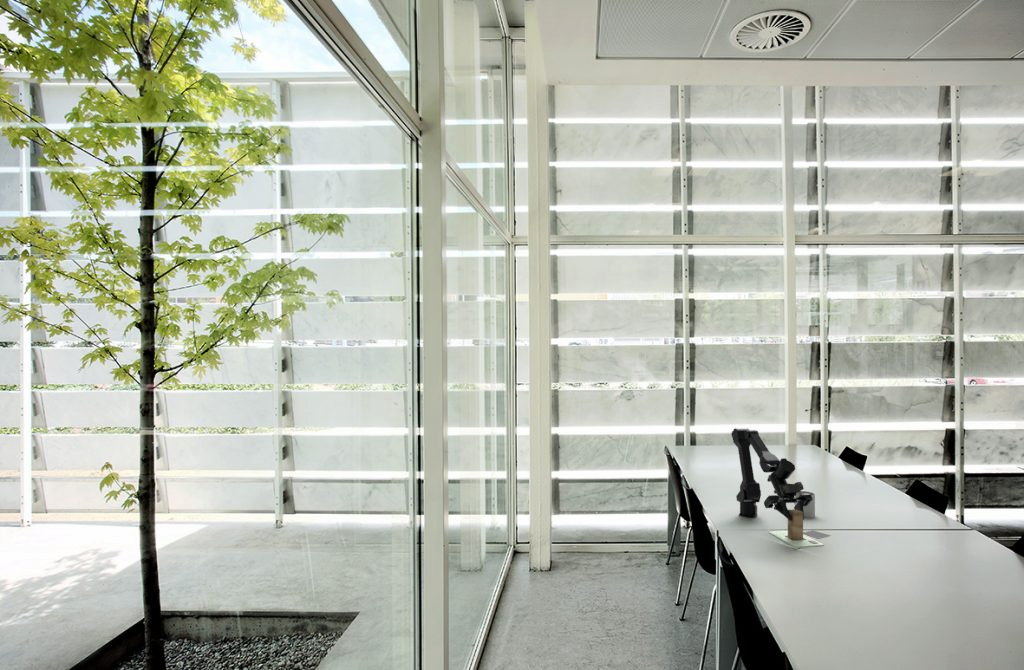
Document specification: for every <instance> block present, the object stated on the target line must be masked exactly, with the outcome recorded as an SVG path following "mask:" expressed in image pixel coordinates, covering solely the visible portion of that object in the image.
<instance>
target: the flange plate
mask: <svg viewBox="0 0 1024 670" xmlns="http://www.w3.org/2000/svg"><path fill="white" fill-rule="evenodd" d="M768 533H769V534H770V535H772V536H774V537H776V538H778V539H780V540H781V541H783V542H784V543H786V545H788V546H790V547H791V548H792V549H795V550H800V549H801V550H802V548H808V547H809V548H811V547H824V546H825V544H824V543H821V542H819V541H817V540H816V539H813V537H811V536H807V535H804V534H803V540H798V541H793V540H791V539H789V538H788V529H787V530H773V531H771V530H770V531H768Z"/></svg>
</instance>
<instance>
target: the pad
mask: <svg viewBox="0 0 1024 670" xmlns="http://www.w3.org/2000/svg"><path fill="white" fill-rule="evenodd" d="M803 534H804V535H806V536H808V537H810V538H815V539H818V540H821V539H824V538H829V537H831V536H832V535H830V534H828V533H823V532H820V531H816V530H814V529H812V530H808V531H806V532H804V531H803Z"/></svg>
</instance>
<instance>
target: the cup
mask: <svg viewBox="0 0 1024 670" xmlns="http://www.w3.org/2000/svg"><path fill="white" fill-rule="evenodd" d="M796 494H797V495H796V496H794V498H798V497H799V496H800V495H801V494H810V495H811V496H812V498H813V500H812V501H811V502H810V503H809V504H808V505H807V506H803V511H804V518H805V517H806V518H812V519H813V518H815V517H816V494H815V493H814V492H810V491H804V490H801V492H797V493H796Z"/></svg>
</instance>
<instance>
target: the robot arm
mask: <svg viewBox="0 0 1024 670" xmlns="http://www.w3.org/2000/svg"><path fill="white" fill-rule="evenodd" d="M731 437H732V442H733V444H734V445H735V446H736V447H737V451H738V455H739V463H740V471H741V477H742V481H741V482H740V484H739V491H738V492H737V495H735V497H736V501H737V502H738V503H739V513H738V516H739V517H747V518H752V519H754V518H755V517H756V516H758V505H757V503H760V501H761V497H762V490H761V484H760V483H759V482H757V481H756V479H755V477H754V476H755V475H754V470H753V463H752V456H751V450H750V447H752V448H753V450H754V452H755V453H756V455H757V457H758V458H759V466H760V468H761V470H762V472H763V473H770V474H768V477H767V480H766V482H770V483H771V484H772V487H773V489H774V490H773V493H774V495H768V496H767V497H766V499H765V500H764V501H763V505H764V508H765V509H773V510H775V511H777V512H778V513H780V514H781V515H782V516H784V517H785V518H786V519H787V520H788V519H789V520H790V521H792V517H791V515H790V513H789V511H788V510H789V509H788V508H787V504H792V503H793V505H794V506H793V510H794V509H797V510H799V511H802V512H803V521H804V520H805V517H804V511H803V506H807V505H808V504H809V503H810V502H811V501H812V500H813V498H812V496H811V495H810V494H801V495H800V496H799V497H798V498H795V496H796V495H797V494H796V493H797V492H801V491H804V485H803V482H802V481H796V482H794V483H788V481H787V480H788V479H789V478H790V477H791V476H792V474H793V473H794V472H795V470H796V466H795V464H794V463H793V462H791V461H790V460H787V458H786V457H785V458H784V457H783V458H781V459H779V458H778V457H777V456H776V455H775V454H774V453H771V451H770V450H769V448H768V447H767V445H766V444H765V443H764V441H763V439H762V438H761V437H760V434H759V431H758V430H756V429H749V428H748V427H741V428H739V427H738V428H737V427H736V428H733V430H732V431H731Z"/></svg>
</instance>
